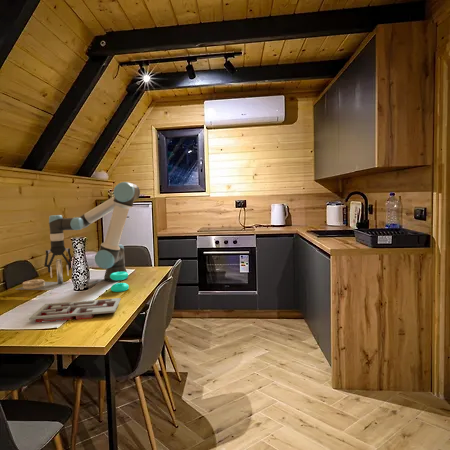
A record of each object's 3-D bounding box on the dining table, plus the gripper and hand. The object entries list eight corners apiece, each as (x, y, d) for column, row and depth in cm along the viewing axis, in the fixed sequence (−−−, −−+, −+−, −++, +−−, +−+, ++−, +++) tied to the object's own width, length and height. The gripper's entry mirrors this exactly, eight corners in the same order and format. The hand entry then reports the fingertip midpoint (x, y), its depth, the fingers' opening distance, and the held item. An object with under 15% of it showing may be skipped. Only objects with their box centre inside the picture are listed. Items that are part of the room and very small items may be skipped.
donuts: (115, 271, 200) (131, 271, 198) (116, 287, 201) (132, 288, 199) (106, 274, 190) (122, 275, 188) (107, 292, 191) (123, 292, 189)
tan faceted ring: (48, 284, 209) (48, 279, 209) (35, 288, 199) (35, 283, 198) (32, 284, 211) (32, 279, 211) (19, 288, 201) (18, 283, 200)
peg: (64, 282, 212) (62, 259, 211) (61, 283, 209) (59, 259, 208) (59, 282, 212) (58, 259, 211) (56, 283, 210) (54, 259, 208)
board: (70, 284, 213) (70, 282, 213) (51, 292, 195) (51, 289, 195) (37, 284, 217) (36, 281, 217) (15, 291, 200) (14, 289, 199)
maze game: (29, 325, 144) (28, 317, 144) (46, 310, 163) (45, 304, 163) (114, 317, 150) (114, 310, 149) (121, 304, 169) (120, 297, 169)
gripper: (75, 238, 217) (77, 272, 219) (37, 241, 207) (40, 277, 208) (76, 239, 211) (79, 275, 212) (37, 242, 200) (40, 280, 202)
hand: (59, 276), depth 210 cm, fingers open, 9 cm apart
